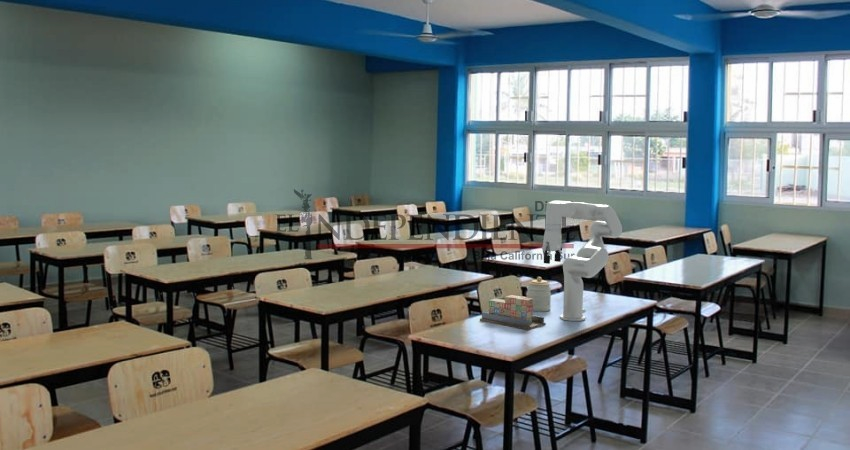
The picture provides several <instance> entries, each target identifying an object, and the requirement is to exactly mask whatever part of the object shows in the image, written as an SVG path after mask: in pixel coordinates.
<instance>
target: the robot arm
mask: <svg viewBox="0 0 850 450" xmlns="http://www.w3.org/2000/svg"><path fill="white" fill-rule="evenodd" d="M545 208H546V209H545V230H544V234H543V241H542V242H543V243H542V247H541V249H542V253H543V264H546V265H549V264H550V263H551V252H554V262H557V263H561V262H562V261H561V260H562V253H563V252H562V251H563V247H564V244H563V243H562V242H563V241H562V221H563V220H562V217H563V218H569V219H575V220H583V221H585V220H586V221H591V222H592V221H593V222H592V223H591V225H590V234H589V235H590V236H589V239H588V241H587V242H586V243H585V244H583V246H582V247H581V248H580V249H579V250H578V251H577V253H576V256H568V257H565V259H564V260H563V263H562V269H563V280H564V281H563V283H564V284H563V285H564V286H563V308H562V309H563V311H562V314H560V315H559V319H560V320H563V321H569V322H570V321H571V322H580V321H582V322H583V321H586V316H584V313H586V312H587V311H586V309H585V308H583V307H584V301H583V300H584V281H583V279H582V278H586V279H591V278H593V277H594V276H596V275H597V274H598V273H599V272H600V271H601V270H602V269H603V268H604V267H605V266H606V265H607V262H608V260H609V252H608V250H607V249H606V248H605V244H604V240H603V238H613V239H616V238H619V237H620V236H621V235H622V234H623V226H622V223H621V221H620V219H619V218H618V215H617V213H616V211H615V210H614V208H612V206H611V205H609V204H608V205H607V204H597V203H587V202H579V201H578V202H577V201H573V202H571V201H566V200H551V201H548V202H547V203H546V207H545Z"/></svg>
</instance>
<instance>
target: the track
mask: <svg viewBox="0 0 850 450" xmlns="http://www.w3.org/2000/svg"><path fill="white" fill-rule="evenodd" d="M479 321H480V322H484V323H485V322H486V323H491V324H496V325H500V326H503V327H504V326H506V327H509V328H516V329H519V330H525V331H529V330H533V329H535V328H539V327H543V326H546V324H547V323H546V322H545V316H539V315H533V314H532V323H530V321H528V320H523V319H517V318H512V317H507V316H502V315H496V314H491V313H489V312H487V311H486V312H485V311H482V312H481V318H479Z"/></svg>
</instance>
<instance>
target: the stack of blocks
mask: <svg viewBox="0 0 850 450" xmlns="http://www.w3.org/2000/svg"><path fill="white" fill-rule="evenodd" d="M533 312H534V311H533V298H527V296H523V295H522V296H520V295H515V294H509V295H505V296H504V299H501V298H492V299H490V300H488V313H491V314H496V315H502V316H507V317H512V318H517V319H523V320H528V321H530V323H532V315H533Z"/></svg>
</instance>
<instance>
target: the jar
mask: <svg viewBox="0 0 850 450" xmlns="http://www.w3.org/2000/svg"><path fill="white" fill-rule="evenodd" d="M550 285H551V284H550V282H548V281H547V280H544V279H543V278H542V277H541V276H537V278H536V279H532V280H531V281H529V282H528V285H527V286H526V289H527V292H526V297H527V298H533V312H548V311H550V310H551V308H552V307H551V306H552V305H551V303H552V302H551V301H552V299H551V296H552V293H551V290H552V287H551V286H550Z"/></svg>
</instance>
